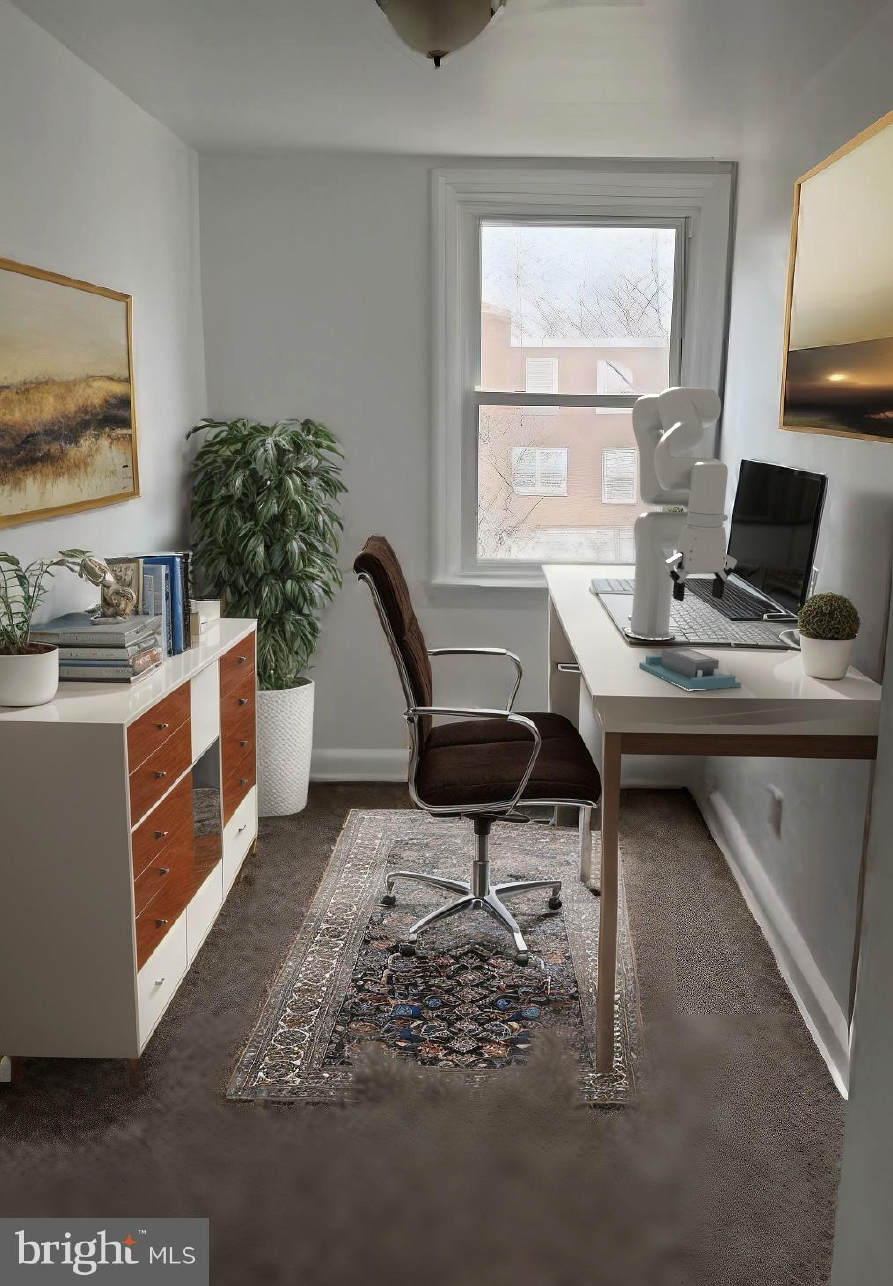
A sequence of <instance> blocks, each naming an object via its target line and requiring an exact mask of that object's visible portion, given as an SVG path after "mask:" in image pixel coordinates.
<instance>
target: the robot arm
mask: <svg viewBox="0 0 893 1286" xmlns="http://www.w3.org/2000/svg"><path fill="white" fill-rule="evenodd" d="M721 410H722V403H721V398H720V396H719V394H718V393H717V392H716V391H715V390H714V389H713V388H710V387H694V386H693V387H687V386H676V387H675V386H674V387H671V388H667V389H665V390H664V391H663V392H661V393H660V394H649V395H643V396H641V397H639V398H638V399H636V400H635V402H634V404H633V407H632V414H631V415H632V416H631V421H632V429H633V434H634V437H635V439H636V444H637V448H638V451H639V493H640V500H641V502H642V503H643V504H644V505H646V506H649V507H655V508H656V507H657V508H658V507H659V508H682V509H683V511H681V512H678V511H647V512H644V513H641V514H639V516H637V518H636V519H635V522H634V525H633V526H634V527H633V533H634V547H635V548H634V549H635V563H634V580H633V581H634V582H633V583H634V584H633V594H632V595H633V596H632V597H633V598H632V608H631V610H632V611H631V612H632V613H631V615H628V617H627V620H628V621H629V622H630V626H628V627H626V628H624V633H625V632H633V633H634V635H638V636H641V637H645V638H669V637H672V636H674V635H675V636H676V633H675V631H674V630H672V629H670V621H671V620H670V619H671V618H670V617H671V608H672V607H671V606H672V596H673V599H674V600H676V601H678V602H683V601H684V600H685V592H686V591H685V589H686V584H685V582H684V581H685V580H686V578H687V577H688V576H689V575H700V574H702V575H704V574H706V575H707V574H713V575H714V576H715V577H714V578H713V580H712V588H711V589H712V590H711V597H712V598H716V599H719V600H722V599H723V597H724V596H723V595H724V593H725V582H726V581H728V579H729V576H731V574H732V573H733V571H734V569H735V567H736V564H737V563H738V560H737V559H736V558H734V557H733V556H730V555H729V554H727V539H726V538H727V537H726V536H727V535H726V528H725V527H724V526H723V525H724V521H725V522H726V521H728V519H729V518H728V517H729V516H728V514H725V504H726V496H727V486H728V485H727V483H728V475H729V474H728V473H729V469H728V466H727V464H725V463H723V462H721V460H719V459H717V458H713V457H691V456H689V457H688V456H687V457H686V456H679V455H681V454H682V455H683V454H684V453H686V452H690V451H691V450H693V449H694V448H696V447H697V446H698V445H700V443H702V441H703V438H704V436H705V429H706V428H709V427H711V426H712V425H714V424H716V422H717V421H718V420H719V418H720V415H721V412H722V411H721ZM662 431H663V432H664V433H663V432H662ZM666 551H667V552H668V551H669V552H670V551H676V553H675V555H674V556H672V557H671V558H668V556H667V555H666V553H665V552H666ZM726 563H727V564H726ZM675 569H676V570H675ZM633 633H632V634H633Z"/></svg>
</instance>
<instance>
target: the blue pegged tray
mask: <svg viewBox="0 0 893 1286" xmlns="http://www.w3.org/2000/svg"><path fill="white" fill-rule="evenodd" d="M661 661H662V654H654V655H645V662H639V668H641V669H642V670H644V669H645V670H644V671H646V670H647V671H646V672H648V671H649V673H650V672H651V673H650V674H652V673H653V674H652V675H654V676H655V677H658V678H660V677H663V678H664V679H666V680H668V681H670V682H673V683H675V684H678V685H680V686H682V687H684V688H686V689H688V690H689V689H715V690H718V689H717V688H726V689H730V688H729V687H737V688H741V687H742V682H741V681H738V680H736V678H737V676H736V675H733V674H723V673H721V672H719V668H718V669H714V673H713V676H706V677H702V672H703V671H702V670H698V673H697V677H694V678H691V679H689V678H687V677H685V676H682V675H680V674H677V673H675V672H673V671H670V670H668V669H666V668H663V667H661ZM664 679H663V680H664ZM666 680H665V681H666ZM668 681H667V682H668ZM670 682H669V683H670ZM740 686H741V687H740Z"/></svg>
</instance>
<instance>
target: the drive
mask: <svg viewBox="0 0 893 1286" xmlns="http://www.w3.org/2000/svg"><path fill="white" fill-rule="evenodd" d="M661 655H662V661H661V667H663V668H666V669H668V670H670V671H673V672H675V673H677V674H680V675H682V676H685V677H687V678H689V679H691V678H694V677H697V673H698V670H702V671H703V672H702V677H706V676H713V673H714V669H719V662H720V661H719V659H717V658H714V657H711V656H709V655H706V654H703V653H700V652H698V651H696V650H693V649H690V648H688V647H685V646H682V647H670V648H663V649H662V651H661Z"/></svg>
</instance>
